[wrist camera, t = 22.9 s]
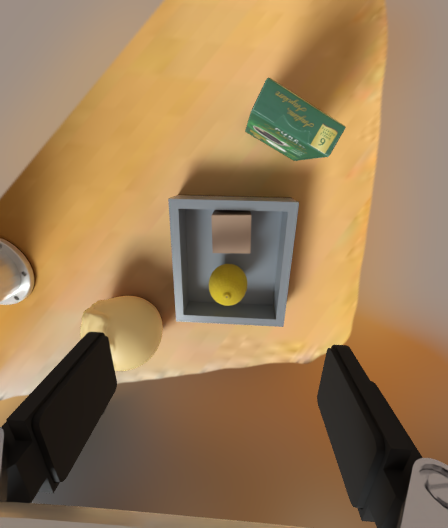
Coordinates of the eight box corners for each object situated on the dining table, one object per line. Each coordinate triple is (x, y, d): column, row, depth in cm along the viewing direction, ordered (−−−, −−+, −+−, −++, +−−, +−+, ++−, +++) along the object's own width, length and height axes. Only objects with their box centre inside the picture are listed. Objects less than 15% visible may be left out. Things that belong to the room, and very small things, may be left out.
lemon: (251, 263, 38) (254, 286, 30) (239, 292, 40) (239, 321, 32) (218, 251, 38) (212, 272, 30) (207, 282, 40) (200, 308, 32)
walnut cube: (215, 209, 35) (211, 215, 31) (249, 209, 35) (251, 215, 30) (216, 242, 37) (212, 253, 32) (249, 242, 37) (250, 253, 32)
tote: (183, 304, 42) (176, 321, 38) (177, 194, 36) (168, 198, 31) (278, 309, 42) (283, 326, 37) (291, 197, 35) (299, 202, 30)
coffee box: (308, 142, 32) (350, 125, 20) (295, 163, 33) (328, 159, 21) (255, 109, 31) (265, 71, 19) (244, 132, 32) (247, 109, 20)
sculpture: (101, 281, 42) (58, 317, 32) (170, 293, 42) (148, 332, 32) (103, 335, 46) (65, 382, 36) (166, 346, 46) (145, 396, 36)
